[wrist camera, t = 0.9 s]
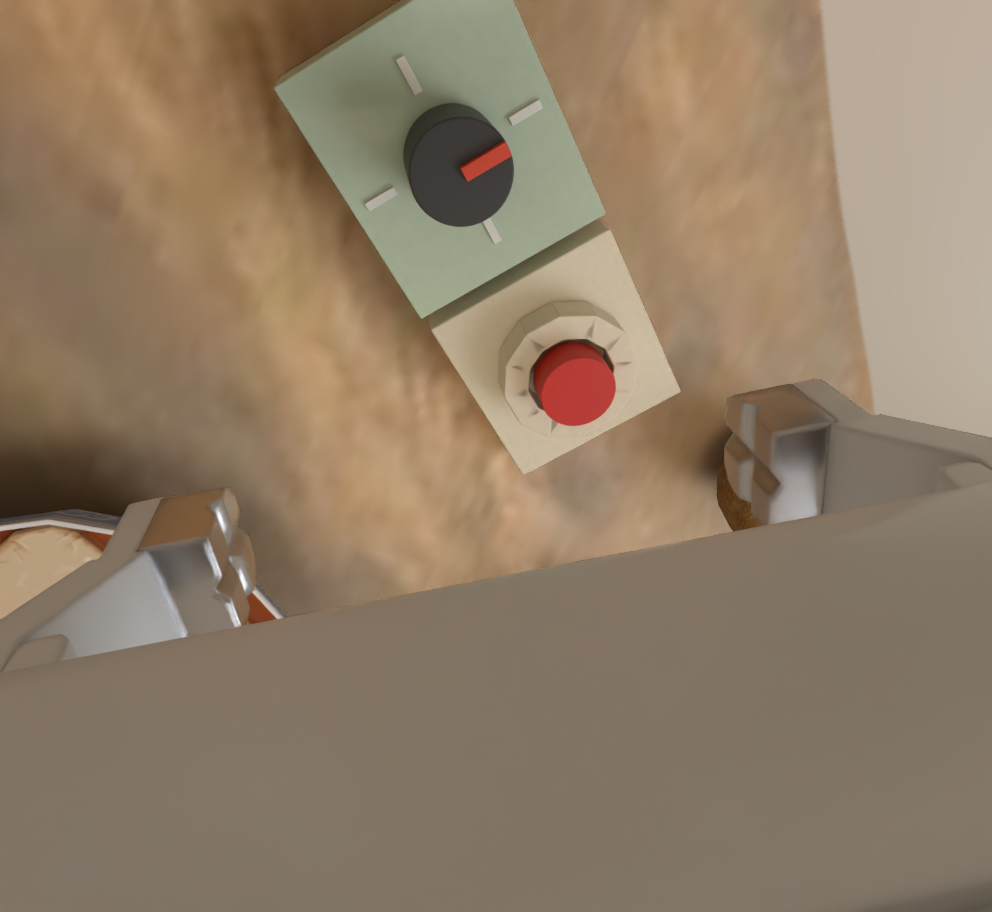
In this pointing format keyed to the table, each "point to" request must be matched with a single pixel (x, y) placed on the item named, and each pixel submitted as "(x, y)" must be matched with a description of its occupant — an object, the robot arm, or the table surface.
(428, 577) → the table surface
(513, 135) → the dial panel
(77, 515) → the ramen bowl
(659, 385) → the switch box
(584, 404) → the power button
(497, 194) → the dial
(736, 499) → the fruit
